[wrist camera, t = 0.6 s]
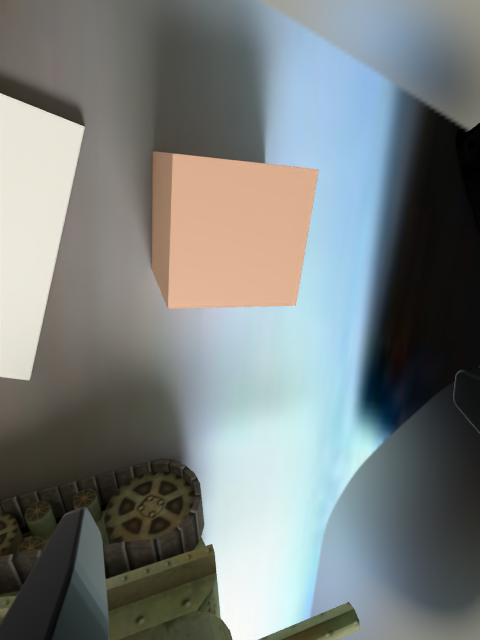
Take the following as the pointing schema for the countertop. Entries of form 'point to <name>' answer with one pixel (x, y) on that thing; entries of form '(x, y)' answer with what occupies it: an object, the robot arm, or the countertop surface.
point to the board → (30, 222)
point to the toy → (142, 554)
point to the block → (229, 230)
